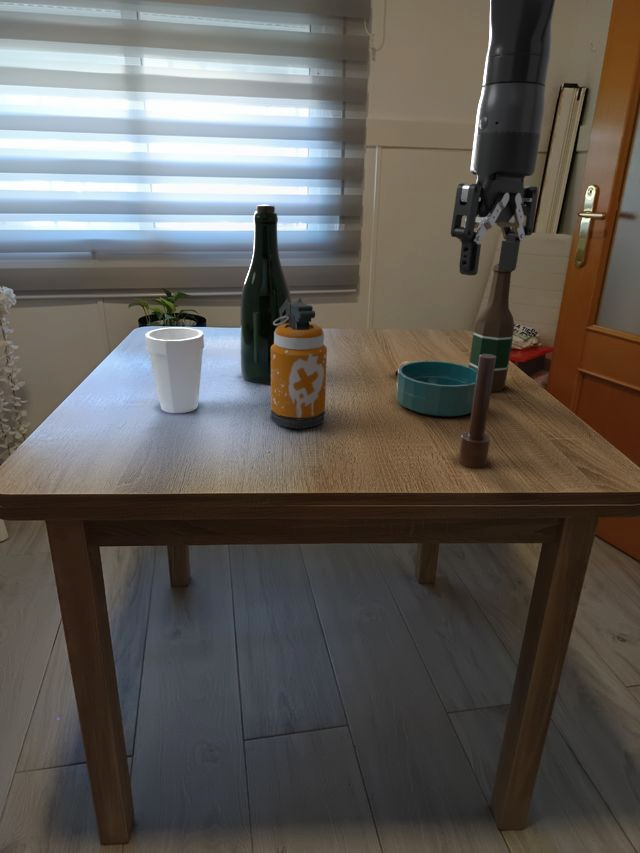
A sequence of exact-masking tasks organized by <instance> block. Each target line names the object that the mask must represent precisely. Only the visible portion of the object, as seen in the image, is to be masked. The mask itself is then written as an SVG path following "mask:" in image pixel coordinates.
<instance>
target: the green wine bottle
mask: <svg viewBox="0 0 640 853" xmlns="http://www.w3.org/2000/svg"><path fill="white" fill-rule="evenodd" d="M275 207H276V206H275V205H271V204H258V205H256V208H255V209H256V211H255V212H254V215H253V224H254V237H253V238H254V239H253V251H252V252H253V254H252V259H251V263H250V266H249V270H248V272H247V275H246V277H245V281H244V284H243V287H242V291H241V297H240V372H241V376H242V377H243V379H245V380H246V381H248V382H253V383H258V384H271V346H272V345H273V344H274V332H275V331H276V328H277V327H278V326H279V325H277V326H275V325H274V324H273V322H274V321H275V320H276V319H278V318H280V312H279V309H280V308H281V306H282V305H283V304H284V302H285V301H286V299H287V298H288V301H289V303H292V296H291V291H290V286H289V283H288V281H287V277H286V275H285V272H284V269H283V266H282V263H281V258H280V254H279V244H278V223H279V222H278V221H279V218H278V213H277V212H276V211H275V210H276V208H275ZM285 315H286V309H285V310H284V312H283V313H282V316H285ZM279 323H281V322H280V319H279V320H278V321H276V322H275V324H279ZM286 323H289V320H288V321H287V322H286ZM286 323H285V324H286Z"/></svg>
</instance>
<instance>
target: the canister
mask: <svg viewBox="0 0 640 853" xmlns="http://www.w3.org/2000/svg"><path fill="white" fill-rule="evenodd" d="M285 309H286V315H285V316H282V313H283V312H284V310H285ZM313 309H314V308H313V305H311V304H309V305H308V304H307V303H305V302H303V300H302V298H301V297H299V299H298V300H297V301H295V302H293V301H292V302H291V303H289V301H288V298H287V299H286V301H285V302H284V304H283V305H282V306H281V308H280V309H279V312H280V318H278V319H276V320H275V321H274V322H273V324H274V325H275V326H277V325H279V326H278V327H277V328H276V331H275V332H274V344H273V345H272V346H271V383H270V419H271V421H272V422H273V423H275V424H277V425H279V426H283V427H286V428H290V429H307V428H311V427H314V426H318V425H319V424H320V425H321V423H323V422H324V421H325V418H326V416H325V415H326V414H325V413H326V411H325V410H326V390H327V389H326V386H327V360H328V358H327V355H328V347H327V346H326V345H325V343H324V342H325V332H324V331H323V328H322V327H321V326H319V325H318V324H313V323H311V322H312V319H315V318H316V311H315V310H313ZM279 319H280V322H281V323H279V324H275V322H276V321H278V320H279ZM288 320H289V323H286V322H287V321H288ZM285 323H286V324H285Z"/></svg>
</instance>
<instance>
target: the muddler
mask: <svg viewBox="0 0 640 853" xmlns="http://www.w3.org/2000/svg"><path fill="white" fill-rule="evenodd" d="M495 362H496V356H495V355H491V354H480V356H479V363H478V370H477V377H476V384H475V391H474V398H473V405H472V412H471V413H470V420H469V426H468V427H469V428H468V431H465V432H463V433H462V434H461V438H460V444H459V453H458V459H457V460H458V462H459V463H460V464H461V465H462V466H465V467H468V468H471V469H481V468H484V467H486V465H487V464H488V457H489V451H490V450H489V449H490V445H491V437H490V436H489V435H488V434H486V427H487V421H488V413H489V407H490V400H491V394H492V392H491V388H492V382H493V375H494V369H495Z"/></svg>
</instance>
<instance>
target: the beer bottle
mask: <svg viewBox="0 0 640 853" xmlns="http://www.w3.org/2000/svg"><path fill="white" fill-rule="evenodd" d="M492 271H493V275H492V281H491V285H490V290H489V291H490V292H489V296H488V300H487V303H486V306H485V308H484V309H483V310H482V311H481V313H480V314H479V315H478V317H477V319H476V321H475V323H474V328H473V332H472V333H473V334H472V341H471V348H470V356H469V363H468V367H471V368H474V369H476V370H478V363H479V356H480V354H491V355H495V356H496V362H495V369H494V375H493V382H492V388H491V393H492V392H493V393H494V392H502V391H503V389H504V387H505V386H506V381H507V376H508V371H509V364H510V358H511V352H512V345H513V339H514V334H515V333H514V332H515V322H514V316H513V314H512V312H511V310H510V305H509V300H510V289H511V278H512V273H513V271H505V270H500V269H499V263H496V264H495V265H494V266H493V268H492Z"/></svg>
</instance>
